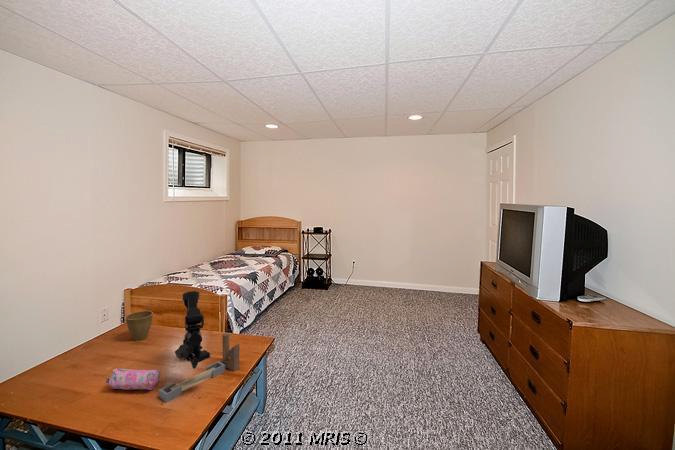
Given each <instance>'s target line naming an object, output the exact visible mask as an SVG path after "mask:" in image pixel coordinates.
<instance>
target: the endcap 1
mask: <svg viewBox="0 0 675 450" xmlns="http://www.w3.org/2000/svg"><path fill="white" fill-rule="evenodd" d="M175 385H177V383H176V382H175V381H174V382H172V383H169V384H168V385H165V386H164V387H161V388H160V389H158V398H160V399H161V400H162V401H163V402H164V403H168V402H170V401H172V400H174V399H175V398H177V397H179V396H181V395H182V394H183V393H182V392H183V391H182V387H181V386H180V387H178V388H176V389H174V390H172V391H170V388H171V387H173V386H175Z"/></svg>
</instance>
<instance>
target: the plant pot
mask: <svg viewBox="0 0 675 450" xmlns="http://www.w3.org/2000/svg"><path fill="white" fill-rule="evenodd" d="M153 315H154V312H153V311H151V310H141V311H137V312H132V313H129V314H128V315H126V316H125V322H126V325H127V328H128V331H129V333H130V336H131V337H132V340H134V341H136V342H137V341H142V340H146V339H147V338H148V336H149V332H150V329H151V326H152V321H153Z"/></svg>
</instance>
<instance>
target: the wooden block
mask: <svg viewBox="0 0 675 450" xmlns="http://www.w3.org/2000/svg"><path fill="white" fill-rule="evenodd" d="M230 344H231V343H230V333H229V332H224V333H222V359H221V361H220V362H221V363H222V364H224V365H225V369H228V370H230V371H233V372H235V371H238V370H239V369H240V343H237V344H236V345H234V346H232V348H231V349H230Z"/></svg>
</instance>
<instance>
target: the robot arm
mask: <svg viewBox="0 0 675 450" xmlns="http://www.w3.org/2000/svg"><path fill="white" fill-rule="evenodd" d="M181 295H182V301H183V305H184V307H186V313H185V314H186V316H184V328H185V334H184V336H183V337H184V338H183V340H182V344H180V346H179V347H178V348H177V349H175V351H174V354H175V356H176V358H177V359H179V360H186V361H188V362H190V363H191V366H192V368H193V369H196V368H197V366H198V364H199V363H201V362H203V361H205V360H207V359H209V358H210V357H211V353H210V352H209V351H207V350H206V349H203V346H202V345H201V343H202V342H203V337H202V333H201V329H204V326H205V318H204V317H205V316H204V315H203V314H202V313H201V312H202V311H201V309H200V308H198V303H199V299H200V291H197V290H191V291H185V292H184V293H182V294H181ZM202 349H203V350H202Z"/></svg>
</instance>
